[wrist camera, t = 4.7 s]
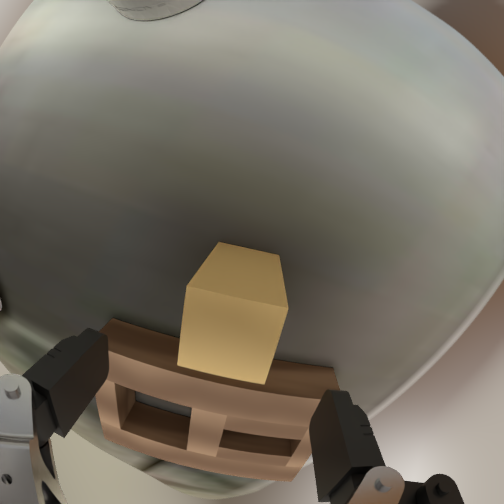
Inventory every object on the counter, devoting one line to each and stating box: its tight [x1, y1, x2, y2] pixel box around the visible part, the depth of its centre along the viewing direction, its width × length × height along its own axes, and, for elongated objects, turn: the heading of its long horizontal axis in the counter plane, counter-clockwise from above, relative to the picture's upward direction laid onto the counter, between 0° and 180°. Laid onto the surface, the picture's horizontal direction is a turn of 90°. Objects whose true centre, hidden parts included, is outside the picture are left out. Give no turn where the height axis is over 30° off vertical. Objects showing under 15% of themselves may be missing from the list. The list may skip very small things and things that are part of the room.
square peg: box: [177, 242, 288, 384], centre depth 15 cm, size 4×4×8 cm
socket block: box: [95, 318, 340, 482], centre depth 20 cm, size 12×18×4 cm, turn 78°
